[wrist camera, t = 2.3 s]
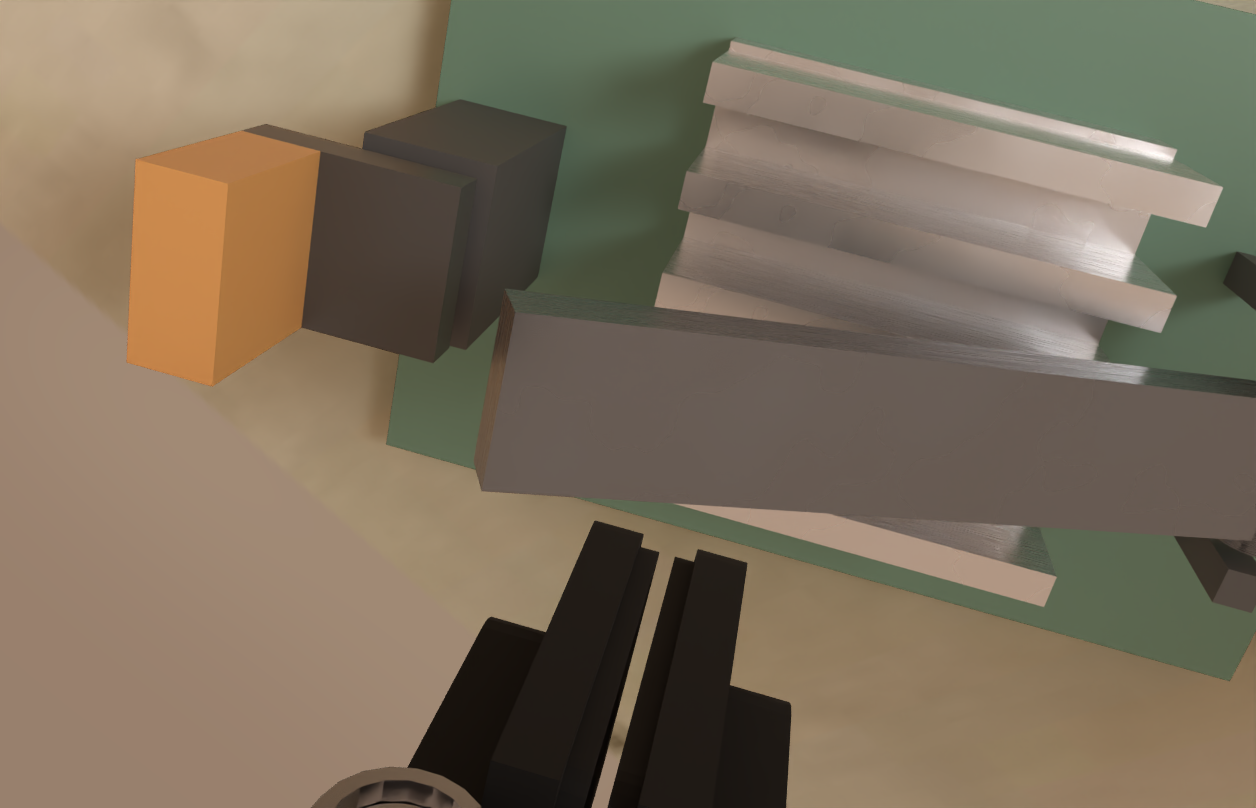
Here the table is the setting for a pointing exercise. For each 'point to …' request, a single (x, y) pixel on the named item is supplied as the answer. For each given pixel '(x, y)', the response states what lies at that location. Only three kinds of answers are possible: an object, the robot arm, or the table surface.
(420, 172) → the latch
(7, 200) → the table surface
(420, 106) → the table surface
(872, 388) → the strap
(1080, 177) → the heat sink
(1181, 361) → the board
